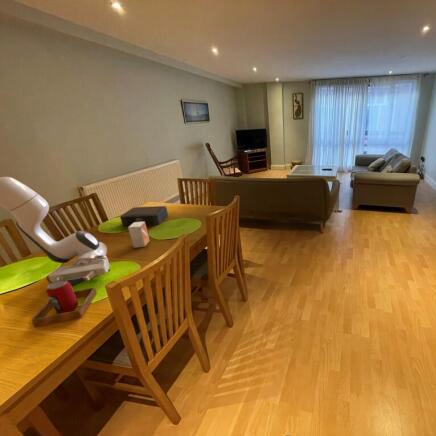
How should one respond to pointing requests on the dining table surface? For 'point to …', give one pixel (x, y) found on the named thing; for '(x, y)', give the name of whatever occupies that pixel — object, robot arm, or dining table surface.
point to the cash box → (145, 215)
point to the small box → (139, 234)
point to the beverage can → (62, 296)
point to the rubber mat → (74, 281)
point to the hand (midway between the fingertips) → (72, 281)
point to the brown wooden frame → (42, 320)
